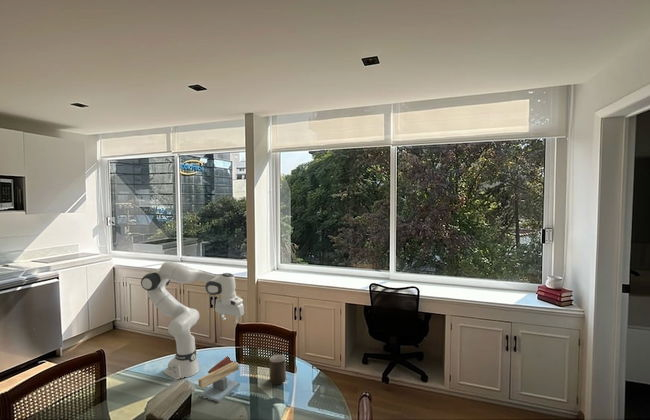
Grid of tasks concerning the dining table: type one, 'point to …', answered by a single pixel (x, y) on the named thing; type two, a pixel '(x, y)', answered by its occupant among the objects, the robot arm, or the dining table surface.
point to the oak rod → (218, 374)
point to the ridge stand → (220, 389)
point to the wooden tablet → (221, 364)
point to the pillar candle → (277, 369)
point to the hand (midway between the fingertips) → (229, 321)
